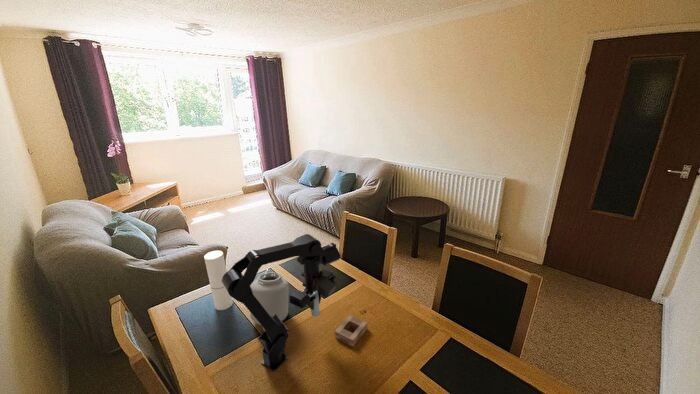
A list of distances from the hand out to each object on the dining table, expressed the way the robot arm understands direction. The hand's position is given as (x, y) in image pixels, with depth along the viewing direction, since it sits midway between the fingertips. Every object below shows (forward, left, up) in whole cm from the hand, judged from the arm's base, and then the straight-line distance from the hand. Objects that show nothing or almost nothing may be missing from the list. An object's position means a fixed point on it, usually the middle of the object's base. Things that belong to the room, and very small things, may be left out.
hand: (315, 306), depth 103 cm
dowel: (0, 0, -3) cm, 3 cm away
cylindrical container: (-8, +47, -13) cm, 49 cm away
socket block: (+8, -10, -13) cm, 18 cm away
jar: (-1, +23, -13) cm, 26 cm away
